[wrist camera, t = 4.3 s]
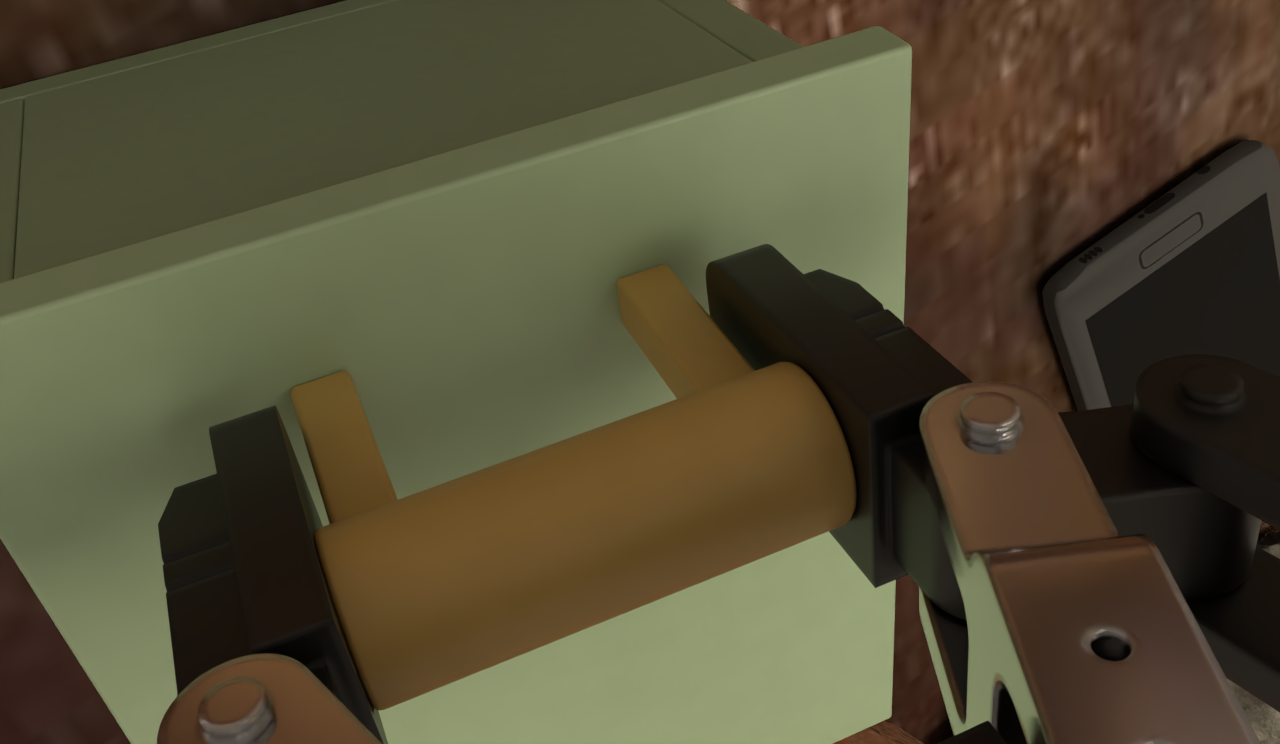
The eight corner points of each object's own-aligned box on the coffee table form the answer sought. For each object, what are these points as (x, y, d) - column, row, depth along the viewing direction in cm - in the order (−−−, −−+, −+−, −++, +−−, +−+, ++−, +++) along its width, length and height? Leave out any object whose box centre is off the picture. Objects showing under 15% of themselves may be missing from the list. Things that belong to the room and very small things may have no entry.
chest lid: (-114, 312, 12) (-167, 681, 9) (880, 22, 15) (1170, 205, 11) (278, 946, 21) (338, 1274, 17) (870, 687, 24) (1035, 919, 20)
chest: (-25, 94, 21) (-65, 339, 14) (609, -69, 23) (841, 66, 16) (223, 613, 28) (279, 945, 21) (685, 442, 31) (869, 685, 24)
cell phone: (1255, 124, 32) (1277, 134, 32) (1306, 448, 41) (1324, 460, 40) (1032, 282, 32) (1050, 295, 32) (1130, 574, 41) (1146, 588, 40)
